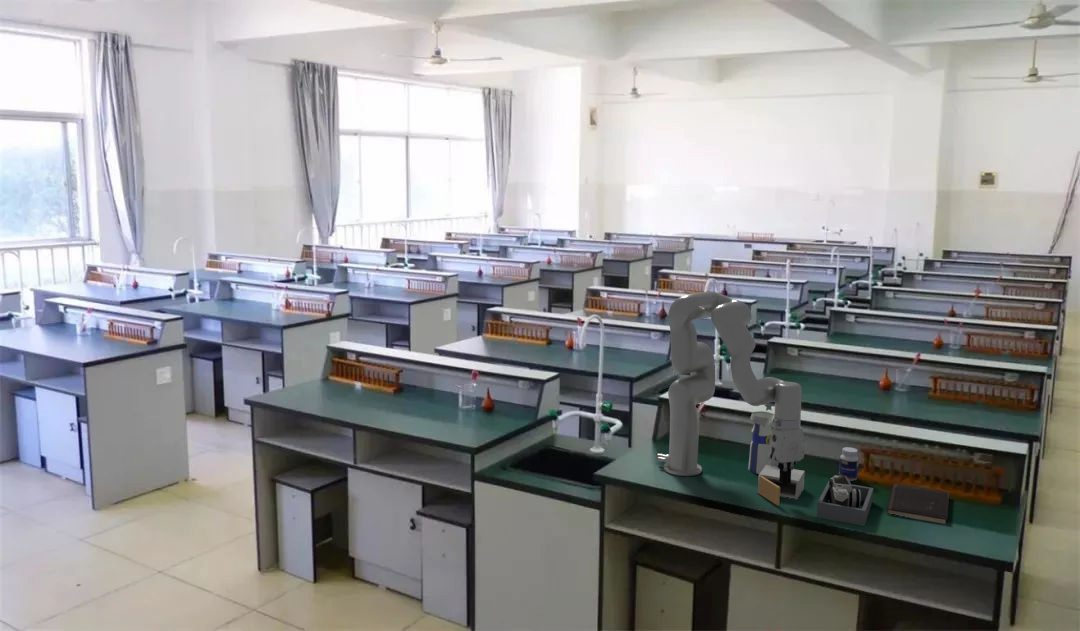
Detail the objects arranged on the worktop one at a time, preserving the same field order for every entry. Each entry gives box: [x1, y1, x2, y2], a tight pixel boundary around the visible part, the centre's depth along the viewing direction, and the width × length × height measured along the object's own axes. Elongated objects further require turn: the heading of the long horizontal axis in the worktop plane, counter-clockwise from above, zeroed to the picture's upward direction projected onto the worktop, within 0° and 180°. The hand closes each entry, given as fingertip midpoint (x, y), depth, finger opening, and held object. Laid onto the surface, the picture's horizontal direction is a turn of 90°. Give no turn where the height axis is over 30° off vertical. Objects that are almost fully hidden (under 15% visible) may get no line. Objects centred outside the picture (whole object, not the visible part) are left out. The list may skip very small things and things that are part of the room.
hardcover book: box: [886, 483, 950, 525], centre depth 254 cm, size 16×23×2 cm
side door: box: [757, 474, 781, 506], centre depth 257 cm, size 11×1×6 cm, turn 18°
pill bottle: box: [838, 446, 860, 482], centre depth 275 cm, size 6×6×10 cm
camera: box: [828, 474, 862, 509], centre depth 249 cm, size 16×9×10 cm, turn 168°
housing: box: [758, 465, 806, 500], centre depth 264 cm, size 12×10×6 cm
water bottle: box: [747, 402, 775, 475], centre depth 281 cm, size 8×9×25 cm
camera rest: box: [816, 480, 874, 527], centre depth 250 cm, size 13×20×4 cm, turn 152°
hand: (785, 482), depth 255 cm, fingers closed
